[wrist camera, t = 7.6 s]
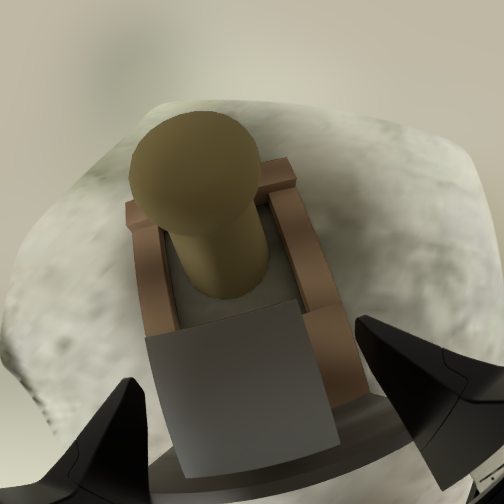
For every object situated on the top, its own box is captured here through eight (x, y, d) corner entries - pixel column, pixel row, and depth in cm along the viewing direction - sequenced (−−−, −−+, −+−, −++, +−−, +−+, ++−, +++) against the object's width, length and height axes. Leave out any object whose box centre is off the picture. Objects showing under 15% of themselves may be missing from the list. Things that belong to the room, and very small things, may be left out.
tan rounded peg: (203, 208, 20) (158, 88, 10) (280, 230, 19) (291, 102, 9) (169, 282, 18) (77, 194, 8) (252, 311, 17) (233, 239, 7)
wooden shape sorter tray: (370, 417, 14) (487, 464, 3) (189, 465, 13) (105, 557, 3) (285, 175, 21) (293, 44, 10) (137, 217, 20) (60, 112, 10)
